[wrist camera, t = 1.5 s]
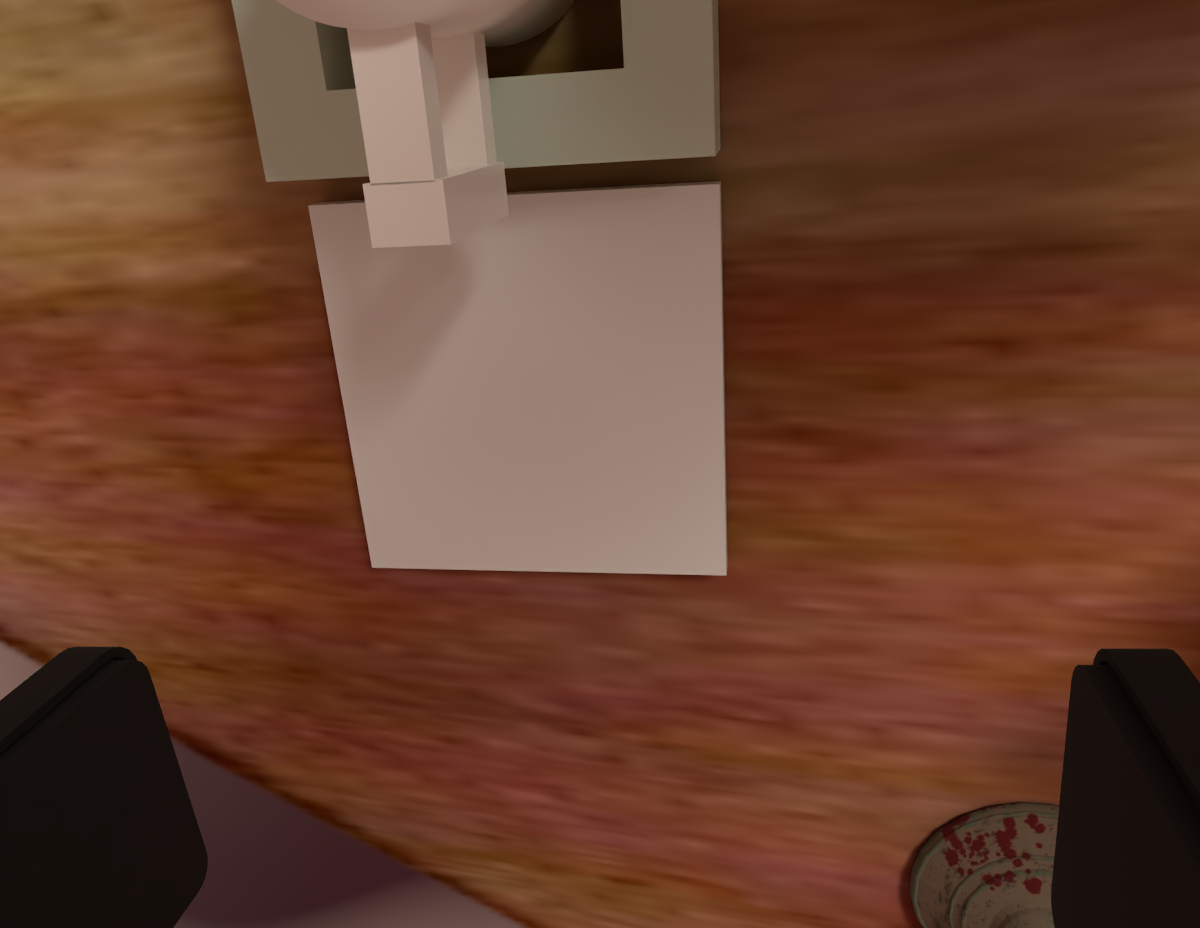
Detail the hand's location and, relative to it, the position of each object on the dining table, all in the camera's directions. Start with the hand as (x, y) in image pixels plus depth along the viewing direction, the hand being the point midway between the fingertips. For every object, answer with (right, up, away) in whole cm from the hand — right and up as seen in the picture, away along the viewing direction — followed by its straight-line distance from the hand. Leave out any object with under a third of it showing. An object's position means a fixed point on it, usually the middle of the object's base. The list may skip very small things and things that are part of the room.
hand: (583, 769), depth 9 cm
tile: (-2, +6, +25) cm, 25 cm away
